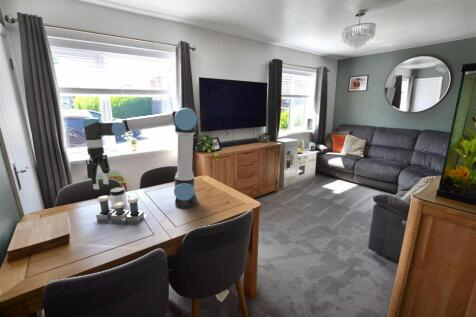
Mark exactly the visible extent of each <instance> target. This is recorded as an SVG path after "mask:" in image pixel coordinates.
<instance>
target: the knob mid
mask: <svg viewBox="0 0 476 317" xmlns="http://www.w3.org/2000/svg"><path fill="white" fill-rule="evenodd" d="M113 206H114V207H113V209H114V210H115V212H116V215H121V214H122V213H124V210H125V209H124V207H126V206H125V205H124V203H123V202H118V203H115V204H114V205H113Z"/></svg>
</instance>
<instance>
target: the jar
mask: <svg viewBox="0 0 476 317" xmlns="http://www.w3.org/2000/svg"><path fill="white" fill-rule="evenodd" d="M109 194H110V195H109V199H110V204H111V205H110V206H111V207H112V208H114V206H113V205H114V204H115V203H118V202H123V203H124V205H125V206H124V207H126V206H127V205H128V204H127V203H128V200H127V196H126V191H125V188H124V187H114V188H111V189H110V191H109Z"/></svg>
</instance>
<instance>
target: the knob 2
mask: <svg viewBox="0 0 476 317" xmlns="http://www.w3.org/2000/svg"><path fill="white" fill-rule="evenodd" d="M138 202H139V197H138V196H132V197H129V198H127V203H129V212H131V215H137V214H138V211H139V205H138Z"/></svg>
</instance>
